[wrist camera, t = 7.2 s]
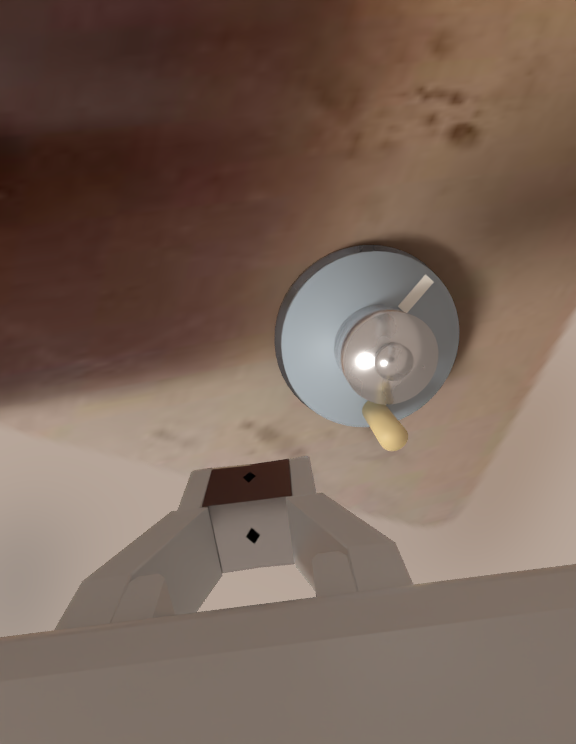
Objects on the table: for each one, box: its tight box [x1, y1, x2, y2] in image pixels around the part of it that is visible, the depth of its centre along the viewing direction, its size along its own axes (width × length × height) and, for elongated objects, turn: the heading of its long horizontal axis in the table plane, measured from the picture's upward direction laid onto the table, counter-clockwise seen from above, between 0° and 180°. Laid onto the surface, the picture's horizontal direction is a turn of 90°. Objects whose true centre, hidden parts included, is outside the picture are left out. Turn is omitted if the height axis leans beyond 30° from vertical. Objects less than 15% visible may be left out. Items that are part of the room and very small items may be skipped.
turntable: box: [281, 251, 459, 451], centre depth 22 cm, size 11×11×5 cm
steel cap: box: [334, 305, 439, 405], centre depth 21 cm, size 5×5×4 cm
